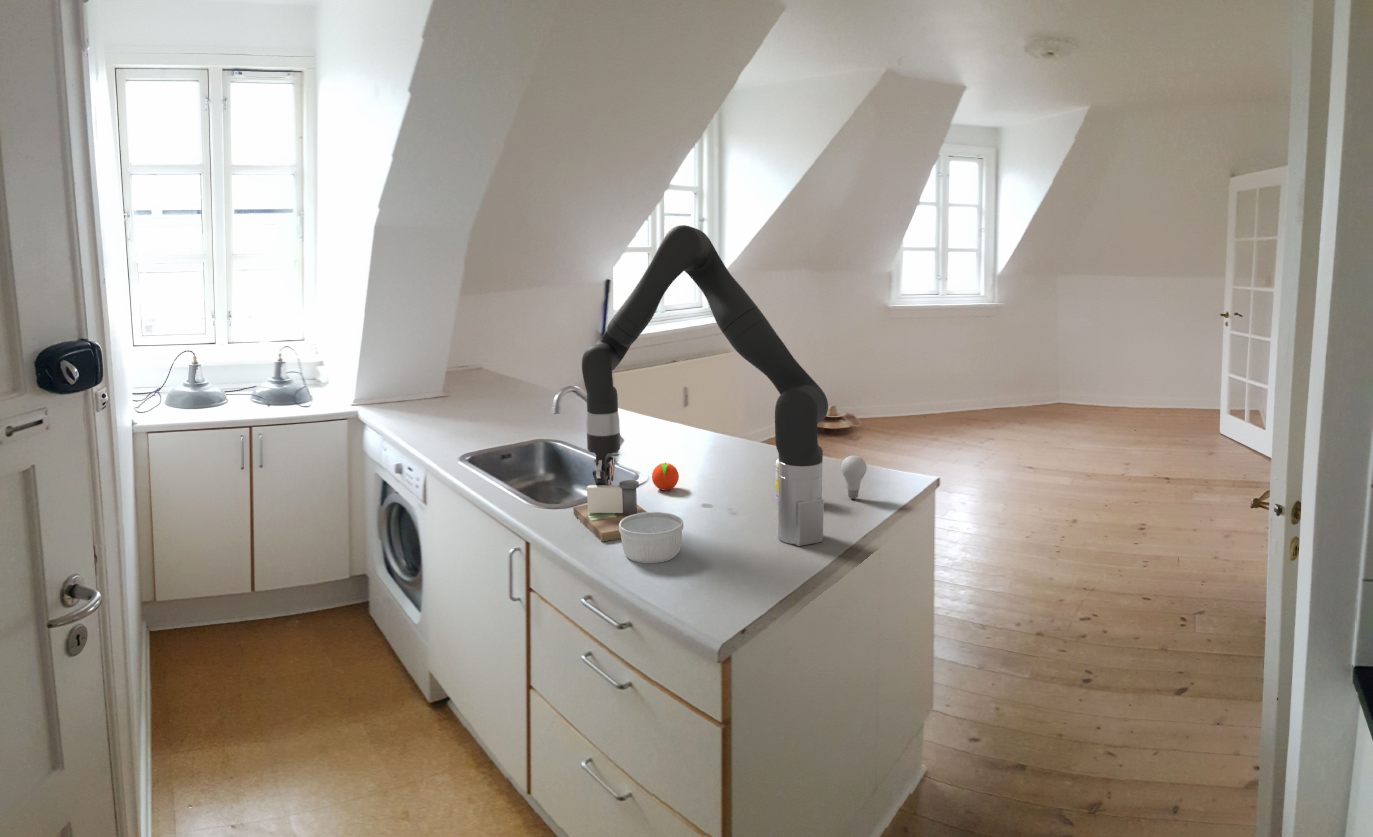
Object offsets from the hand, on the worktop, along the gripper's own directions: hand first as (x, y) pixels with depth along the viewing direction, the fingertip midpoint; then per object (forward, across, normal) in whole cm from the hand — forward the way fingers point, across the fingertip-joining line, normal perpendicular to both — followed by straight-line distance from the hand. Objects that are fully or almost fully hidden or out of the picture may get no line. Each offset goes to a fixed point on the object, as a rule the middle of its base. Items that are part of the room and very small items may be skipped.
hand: (605, 502), depth 202 cm
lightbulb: (+3, +18, -58) cm, 61 cm away
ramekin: (+3, -22, -15) cm, 27 cm away
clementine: (+4, +21, -11) cm, 24 cm away
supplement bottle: (+3, +16, -42) cm, 45 cm away
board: (+3, -5, -4) cm, 7 cm away
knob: (+1, -4, -3) cm, 5 cm away
